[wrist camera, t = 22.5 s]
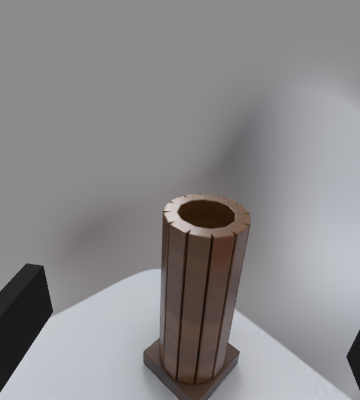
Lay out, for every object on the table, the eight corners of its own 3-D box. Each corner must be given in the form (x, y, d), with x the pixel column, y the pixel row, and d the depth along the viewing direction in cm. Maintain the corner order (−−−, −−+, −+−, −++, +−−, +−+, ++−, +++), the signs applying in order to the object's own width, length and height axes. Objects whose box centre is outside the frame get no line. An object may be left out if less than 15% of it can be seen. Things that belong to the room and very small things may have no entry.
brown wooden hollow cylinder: (146, 351, 25) (145, 211, 19) (189, 314, 29) (200, 186, 22) (195, 400, 22) (215, 249, 15) (236, 351, 26) (266, 213, 19)
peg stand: (143, 362, 26) (142, 265, 21) (188, 322, 30) (196, 233, 25) (194, 415, 22) (208, 313, 17) (237, 362, 26) (258, 267, 21)
